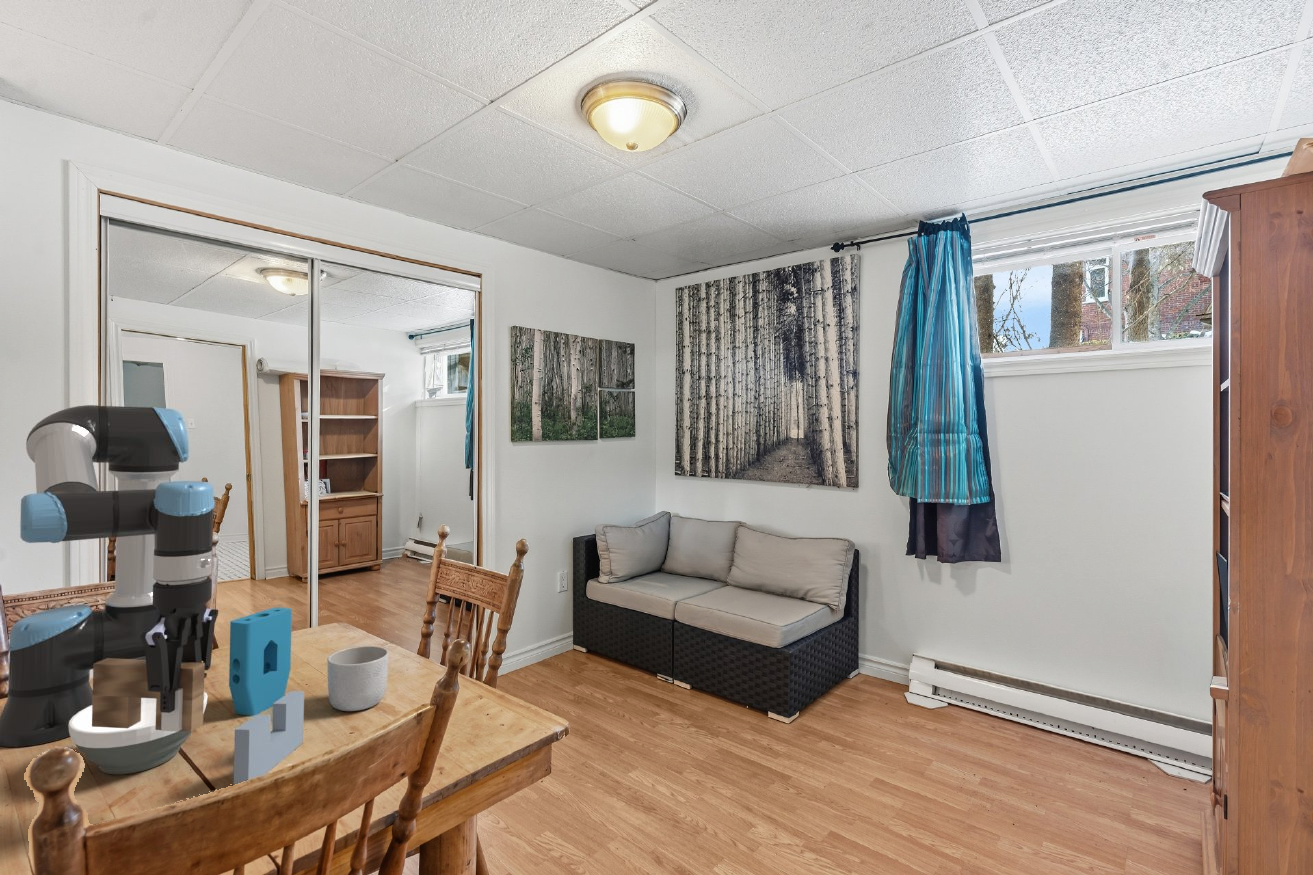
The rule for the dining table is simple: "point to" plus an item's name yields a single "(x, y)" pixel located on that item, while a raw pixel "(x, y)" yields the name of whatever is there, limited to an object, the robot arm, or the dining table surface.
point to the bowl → (127, 741)
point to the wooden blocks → (141, 693)
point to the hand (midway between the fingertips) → (179, 724)
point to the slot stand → (268, 738)
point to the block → (259, 659)
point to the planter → (357, 677)
